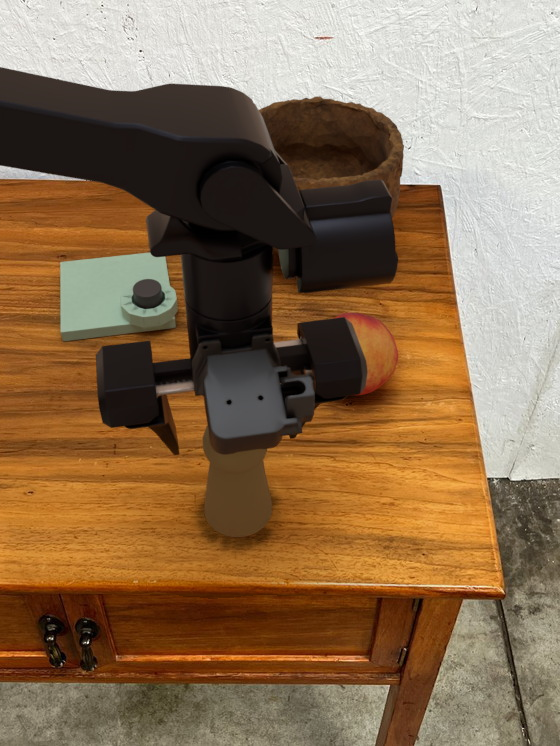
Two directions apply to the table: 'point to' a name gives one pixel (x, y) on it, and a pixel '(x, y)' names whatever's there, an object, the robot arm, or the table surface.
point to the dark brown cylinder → (147, 293)
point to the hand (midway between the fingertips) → (234, 442)
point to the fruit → (374, 349)
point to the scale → (112, 296)
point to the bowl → (335, 144)
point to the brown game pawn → (236, 491)
